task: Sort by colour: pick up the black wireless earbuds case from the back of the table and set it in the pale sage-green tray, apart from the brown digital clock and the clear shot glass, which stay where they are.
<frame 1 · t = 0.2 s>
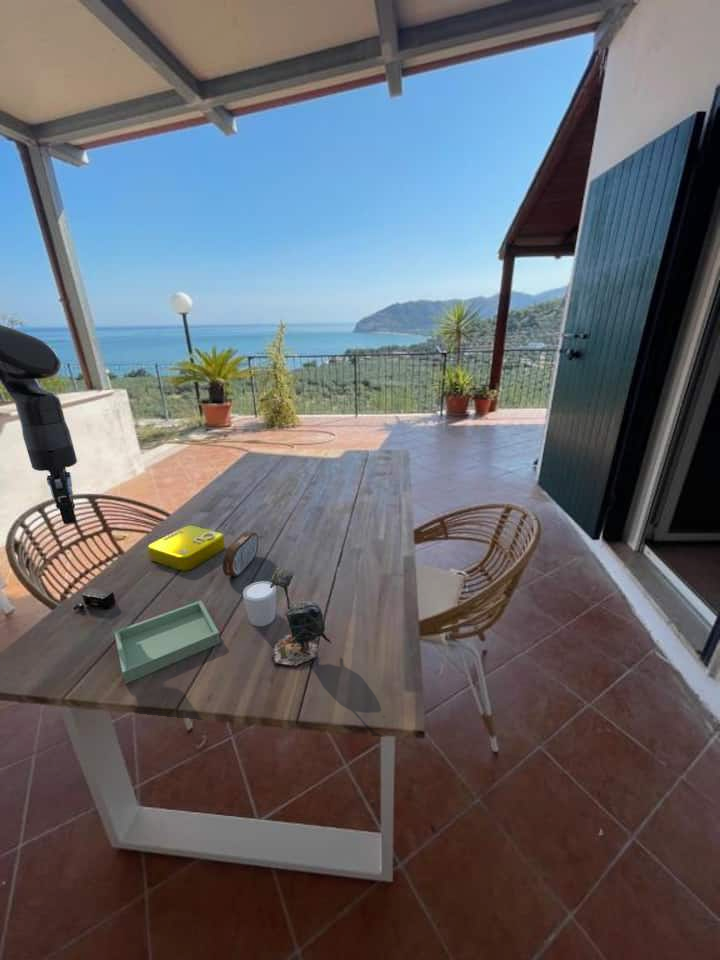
hand: (69, 516, 85), 21 cm above the table, tool pointing down, fingers open, 8 cm apart
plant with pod: (301, 653, 75), on the table
brown digital clock: (243, 567, 103), on the table
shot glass: (262, 618, 84), on the table
wireless earbuds: (95, 607, 88), on the table
element tile: (188, 554, 110), on the table
pale tray: (168, 642, 77), on the table
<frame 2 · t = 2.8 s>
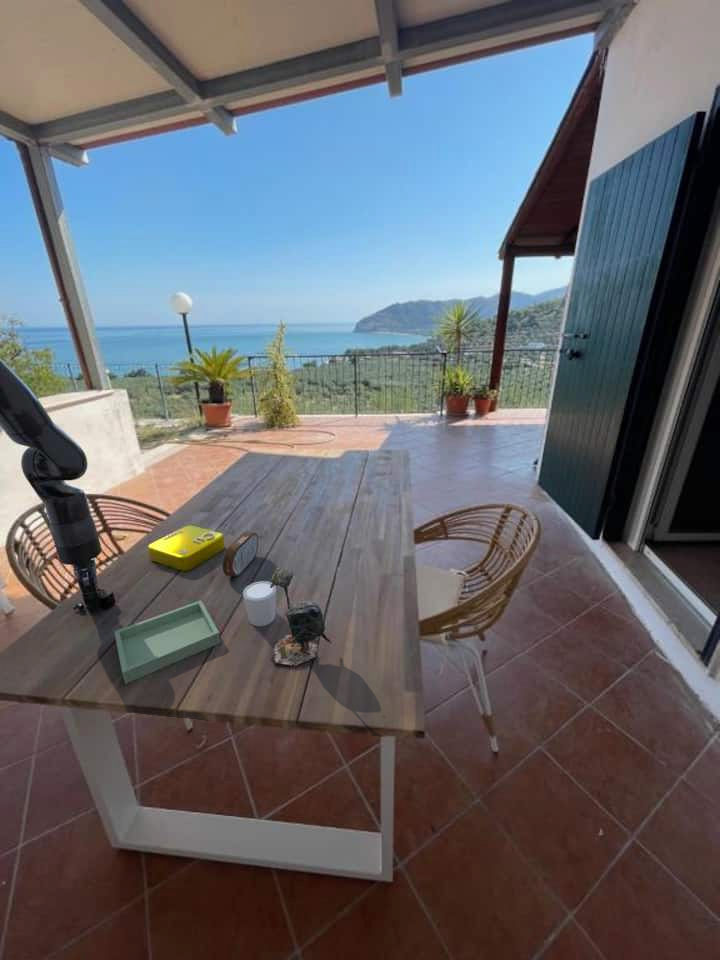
hand: (94, 603, 88), 1 cm above the table, tool pointing down, fingers closed on wireless earbuds, 5 cm apart
wireless earbuds: (95, 607, 88), on the table, touching gripper
everything else where it was.
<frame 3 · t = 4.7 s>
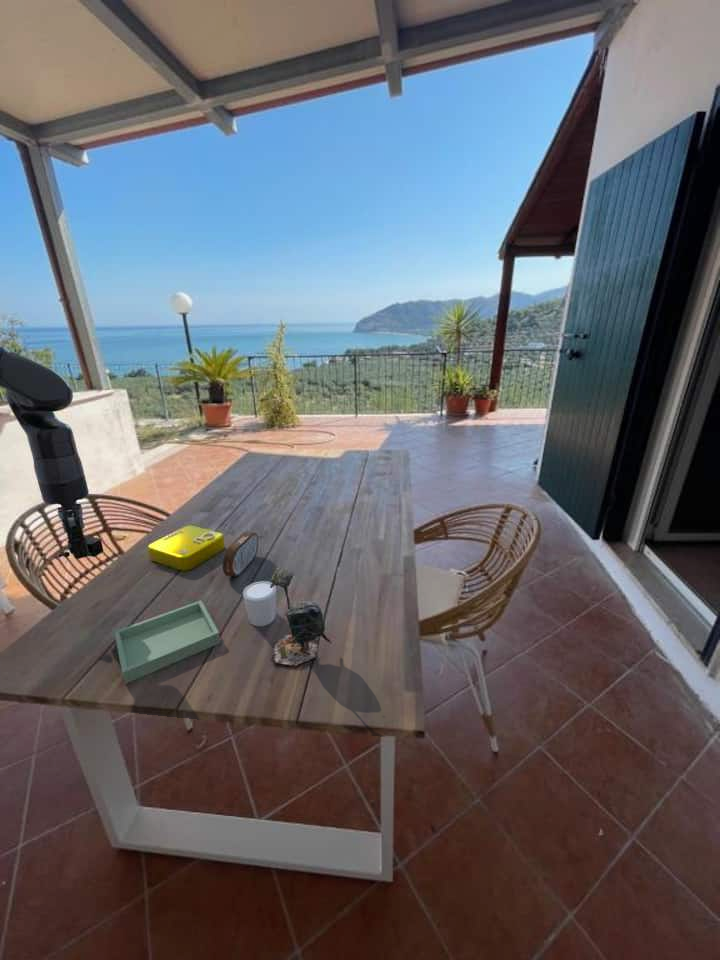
hand: (80, 551, 82), 15 cm above the table, tool pointing down, fingers closed on wireless earbuds, 5 cm apart
wireless earbuds: (81, 555, 83), point 14 cm above the table, touching gripper
everything else where it was.
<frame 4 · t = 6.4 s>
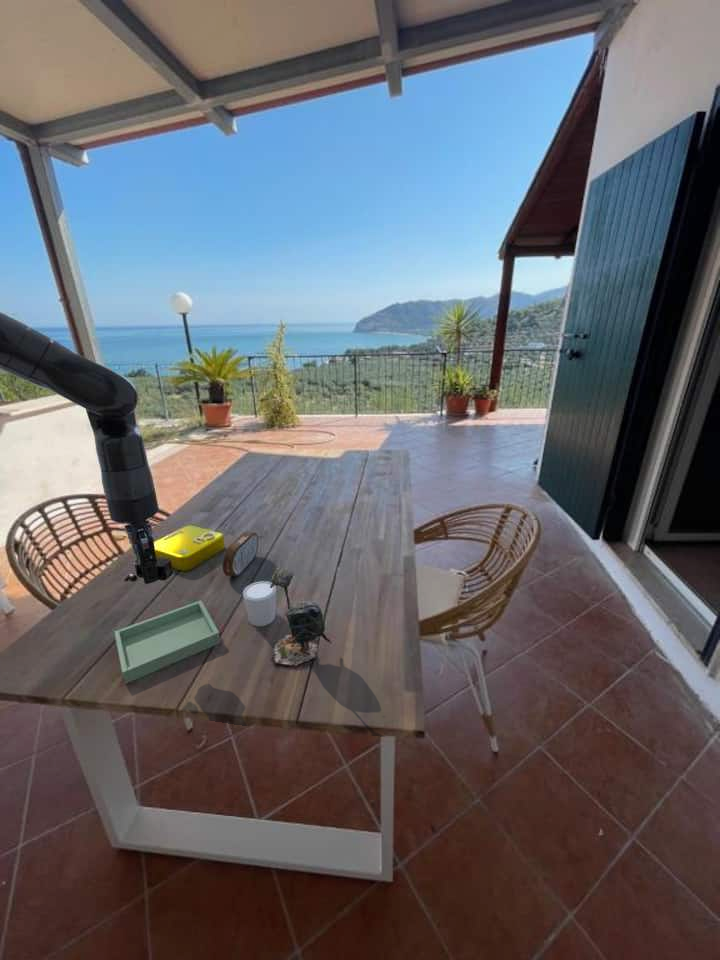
hand: (148, 573, 73), 15 cm above the table, tool pointing down, fingers closed on wireless earbuds, 5 cm apart
wireless earbuds: (149, 578, 73), point 14 cm above the table, touching gripper
everything else where it was.
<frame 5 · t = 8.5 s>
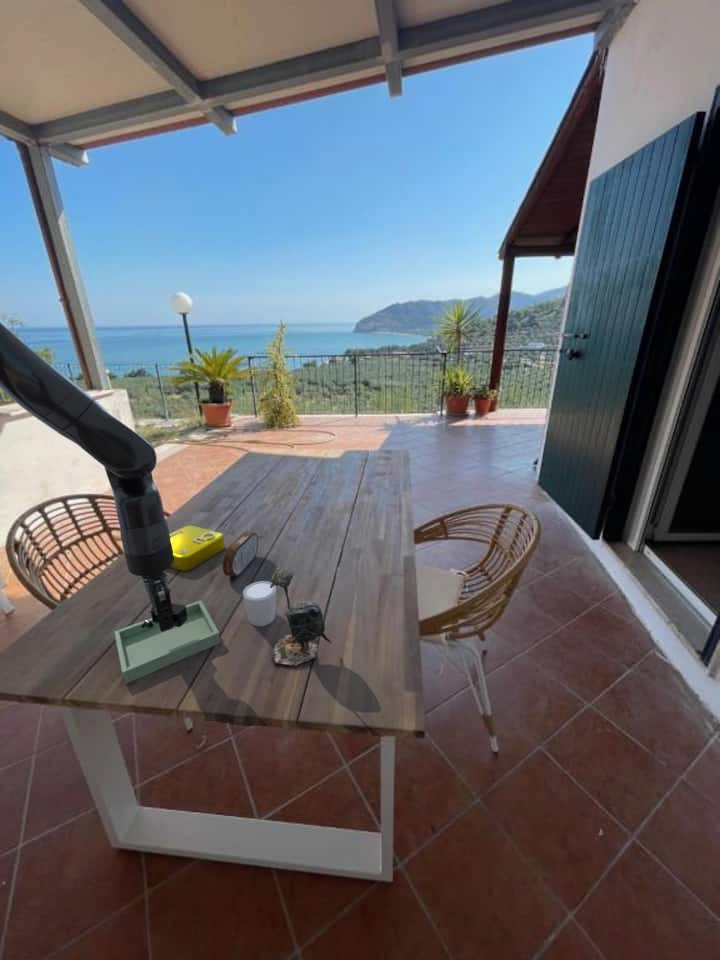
hand: (163, 619, 75), 6 cm above the table, tool pointing down, fingers closed on wireless earbuds, 5 cm apart
wireless earbuds: (164, 624, 75), point 5 cm above the table, touching gripper
everything else where it was.
when the fingers open (1 cm above the table, at t = 10.1 s): wireless earbuds stays where it is, resting on pale tray.
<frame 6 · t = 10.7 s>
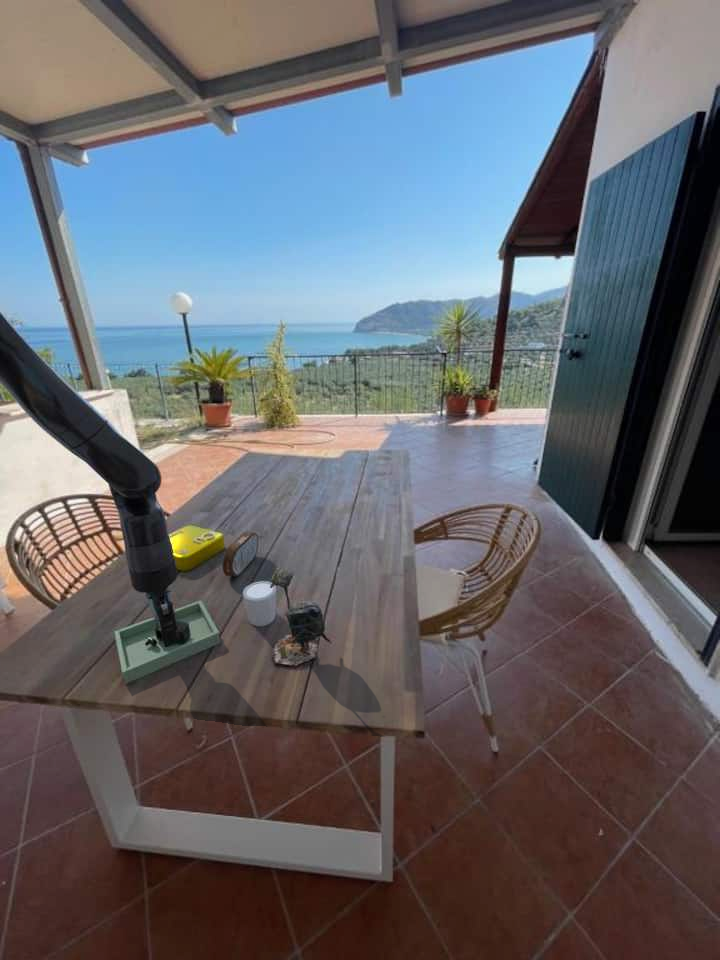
hand: (166, 631, 76), 3 cm above the table, tool pointing down, fingers open, 8 cm apart
wireless earbuds: (168, 641, 77), resting on pale tray
everything else where it was.
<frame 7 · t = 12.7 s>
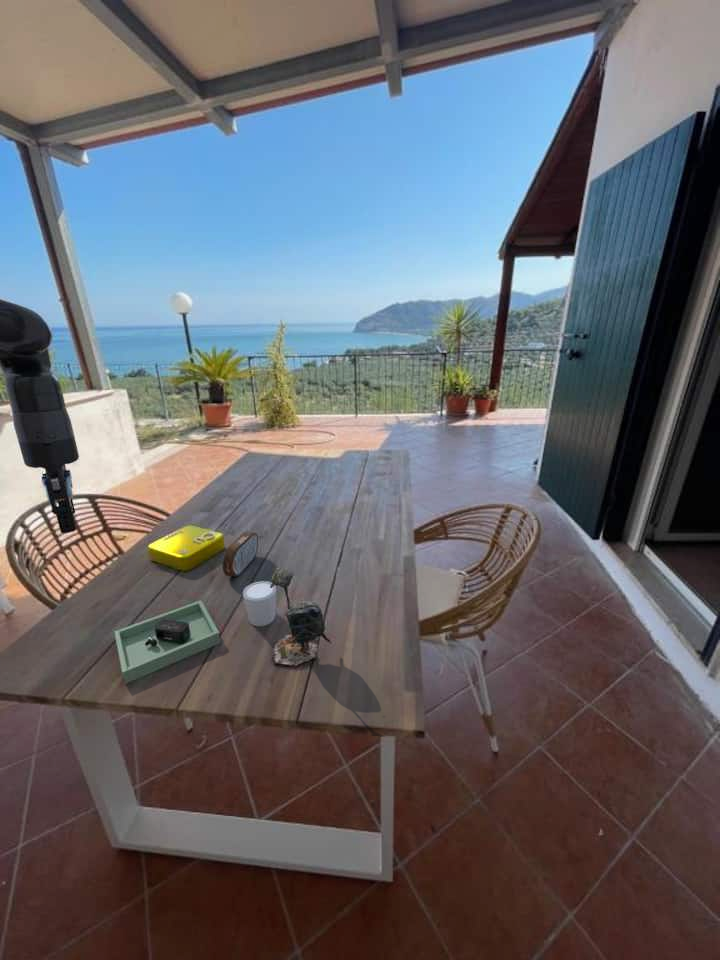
hand: (68, 522, 71), 25 cm above the table, tool pointing down, fingers open, 8 cm apart
nothing on the table moved.
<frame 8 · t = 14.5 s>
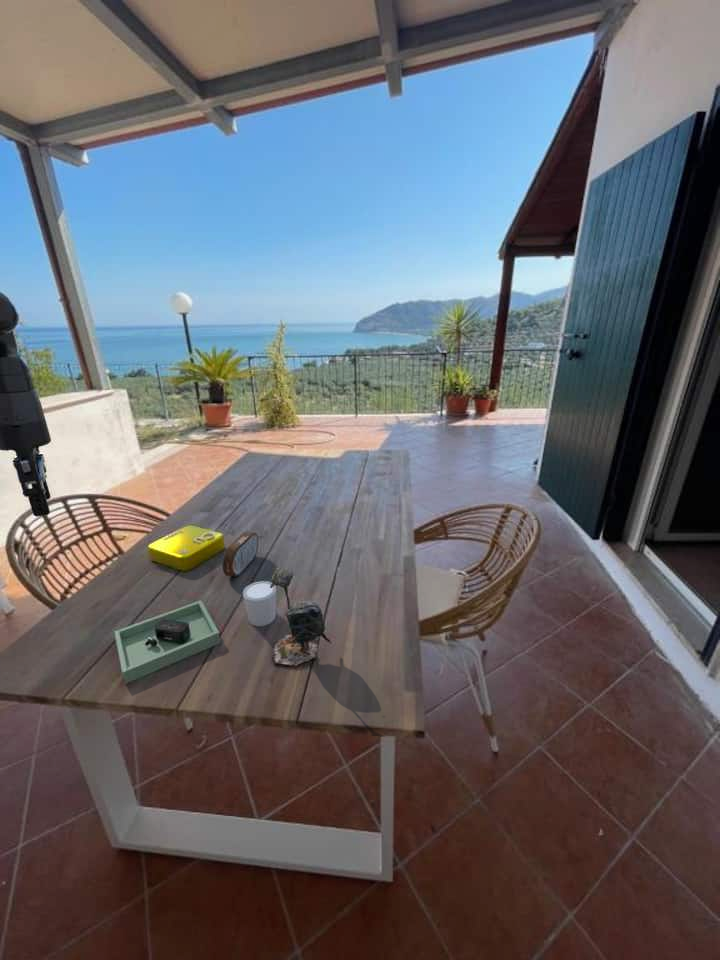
hand: (43, 507, 71), 28 cm above the table, tool pointing down, fingers open, 8 cm apart
nothing on the table moved.
at the end: wireless earbuds inside the target area in the pale tray (0.3 cm from its centre), point 0.4 cm above the pale tray's base; the gripper is holding nothing; brown digital clock moved 0.2 cm from its start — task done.
